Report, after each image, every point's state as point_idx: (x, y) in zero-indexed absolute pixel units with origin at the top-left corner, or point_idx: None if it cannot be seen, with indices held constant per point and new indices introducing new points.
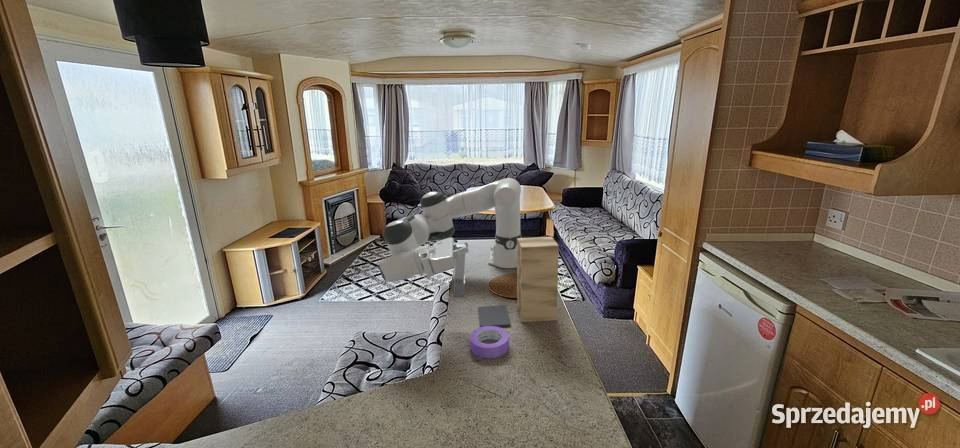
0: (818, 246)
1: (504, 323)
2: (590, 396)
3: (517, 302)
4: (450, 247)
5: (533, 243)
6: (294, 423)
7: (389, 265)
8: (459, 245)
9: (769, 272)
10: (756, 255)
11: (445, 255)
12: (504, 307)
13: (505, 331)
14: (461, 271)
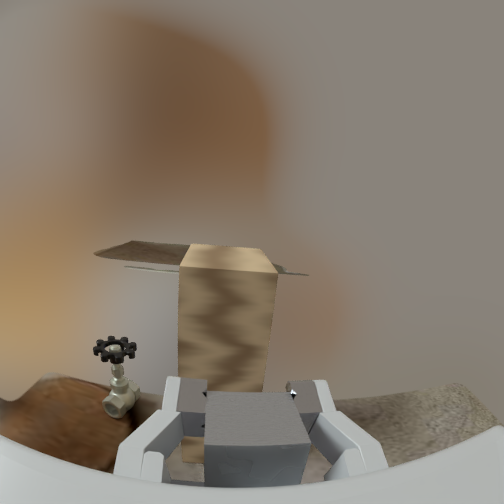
0: (142, 242)
1: None
2: (424, 395)
3: (187, 448)
4: (315, 500)
5: (241, 260)
6: None
7: None
8: (266, 425)
9: (169, 262)
10: (136, 255)
11: (494, 481)
12: (178, 483)
13: None
14: None
